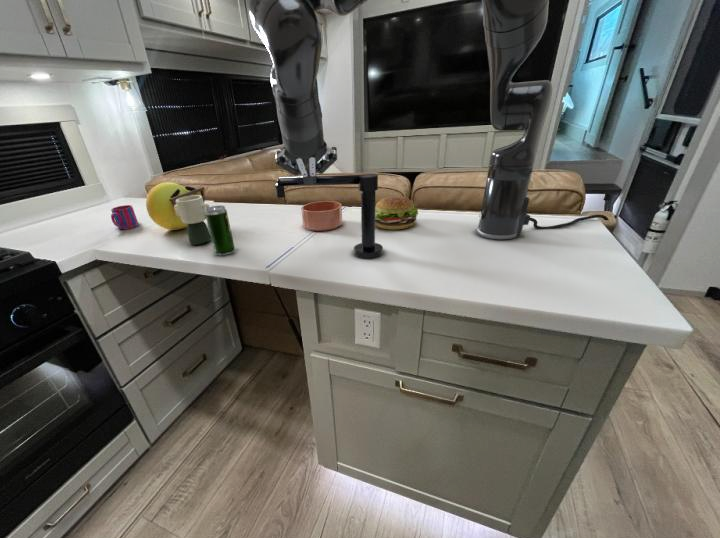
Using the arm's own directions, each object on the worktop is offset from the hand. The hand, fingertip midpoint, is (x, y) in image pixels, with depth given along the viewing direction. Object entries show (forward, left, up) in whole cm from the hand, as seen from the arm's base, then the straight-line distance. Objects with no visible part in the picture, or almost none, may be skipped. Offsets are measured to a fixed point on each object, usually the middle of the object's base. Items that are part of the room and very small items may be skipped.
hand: (310, 182), depth 74 cm
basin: (-1, -23, -17) cm, 29 cm away
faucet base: (-13, +1, -17) cm, 22 cm away
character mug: (+35, -14, -18) cm, 42 cm away
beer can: (+25, -5, -18) cm, 31 cm away
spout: (-3, -1, -3) cm, 5 cm away
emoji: (+48, -29, -18) cm, 59 cm away
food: (-22, -20, -18) cm, 34 cm away
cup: (+70, -34, -18) cm, 80 cm away
